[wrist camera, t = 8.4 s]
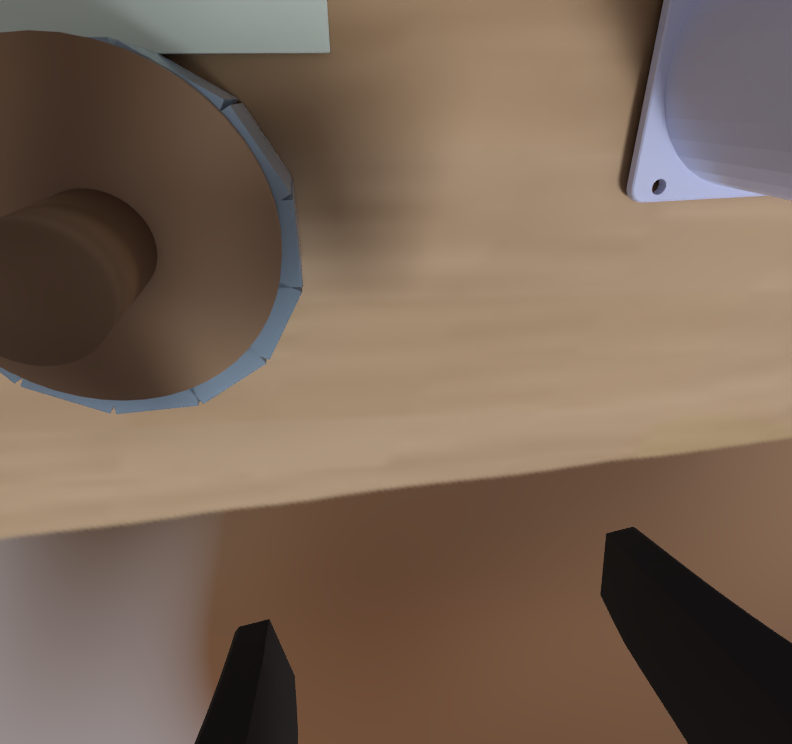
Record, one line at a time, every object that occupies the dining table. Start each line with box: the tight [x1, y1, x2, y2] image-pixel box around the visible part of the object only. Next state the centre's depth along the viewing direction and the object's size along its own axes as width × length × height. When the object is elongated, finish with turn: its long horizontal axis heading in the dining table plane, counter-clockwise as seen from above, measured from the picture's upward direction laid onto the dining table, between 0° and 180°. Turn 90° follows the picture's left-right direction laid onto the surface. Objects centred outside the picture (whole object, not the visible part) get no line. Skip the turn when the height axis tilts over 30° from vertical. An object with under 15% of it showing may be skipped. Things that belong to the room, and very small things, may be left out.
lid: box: [0, 30, 282, 401], centre depth 11 cm, size 8×8×4 cm
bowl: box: [0, 37, 303, 414], centre depth 14 cm, size 9×9×4 cm
